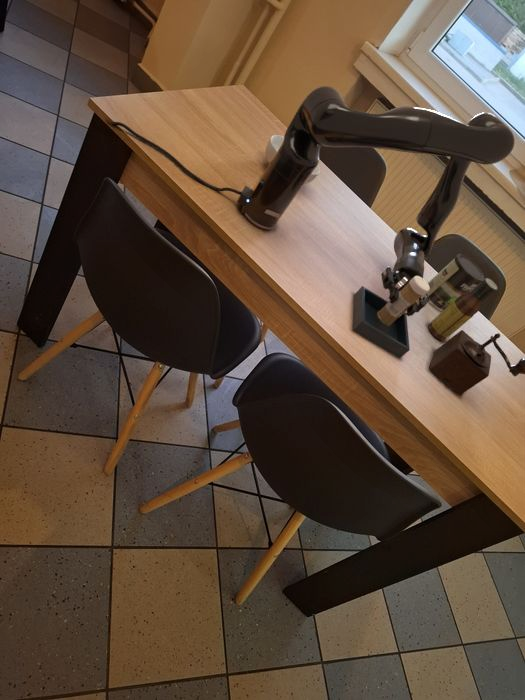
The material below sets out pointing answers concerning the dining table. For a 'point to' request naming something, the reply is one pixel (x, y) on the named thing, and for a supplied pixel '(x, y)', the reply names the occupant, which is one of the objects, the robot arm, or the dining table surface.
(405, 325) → the tray
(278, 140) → the cereal bowl
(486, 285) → the sauce bottle
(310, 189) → the dining table surface
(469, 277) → the coffee can
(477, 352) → the manual coffee grinder
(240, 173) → the dining table surface
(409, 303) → the sprinkles bottle
